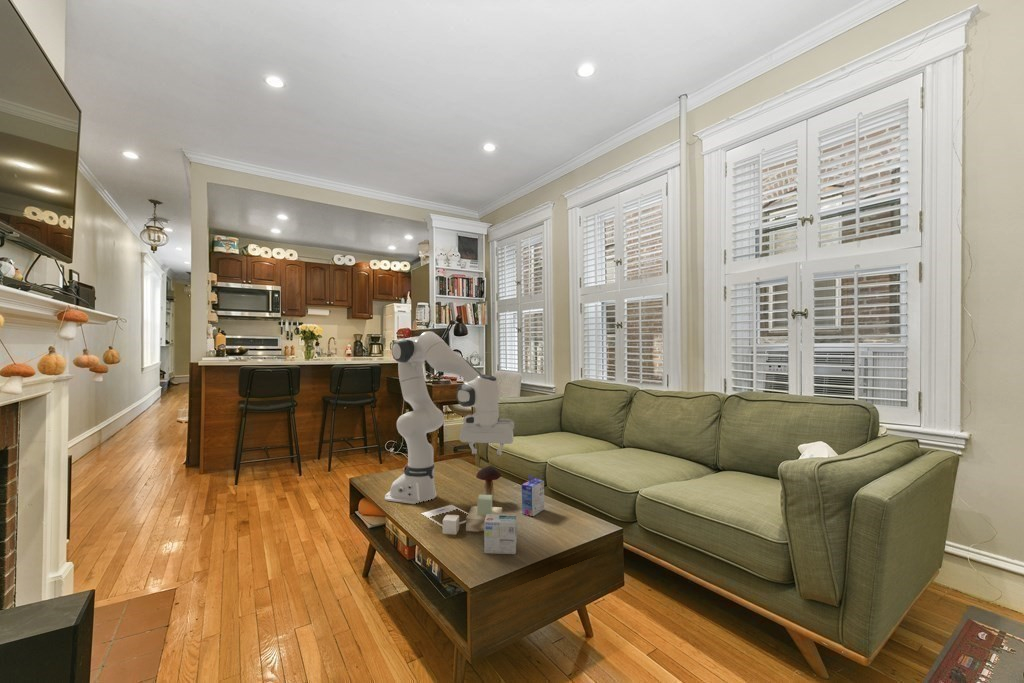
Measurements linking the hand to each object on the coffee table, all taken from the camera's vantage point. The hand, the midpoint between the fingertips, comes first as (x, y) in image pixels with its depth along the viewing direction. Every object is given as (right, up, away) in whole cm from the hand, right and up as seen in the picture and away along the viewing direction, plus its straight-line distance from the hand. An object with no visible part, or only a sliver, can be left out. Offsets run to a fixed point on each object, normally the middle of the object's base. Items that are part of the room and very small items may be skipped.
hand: (486, 454), depth 164 cm
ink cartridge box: (+18, -27, +14) cm, 36 cm away
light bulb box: (+6, -27, -19) cm, 34 cm away
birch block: (-1, -27, +1) cm, 27 cm away
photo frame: (-16, -28, +8) cm, 33 cm away
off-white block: (-13, -27, -5) cm, 30 cm away
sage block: (-1, -22, +1) cm, 22 cm away
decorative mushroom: (-1, -27, +26) cm, 38 cm away
